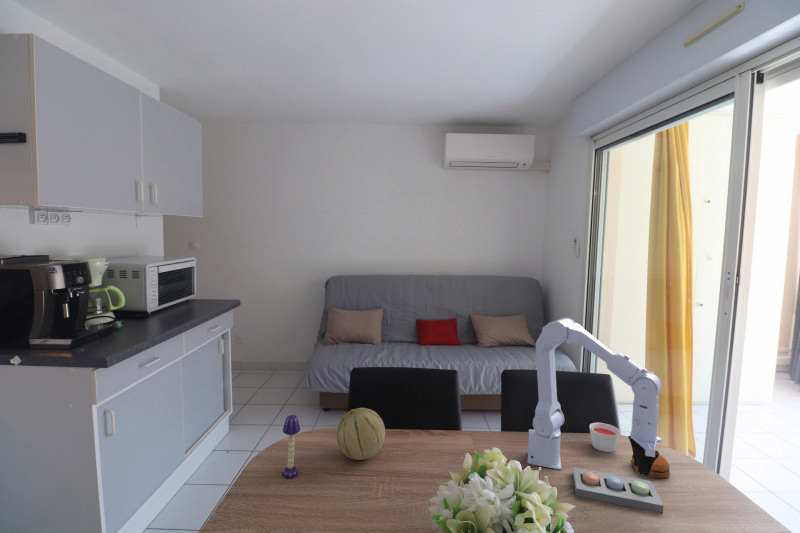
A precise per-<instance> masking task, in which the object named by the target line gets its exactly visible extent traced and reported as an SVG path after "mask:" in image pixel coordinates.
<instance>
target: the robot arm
mask: <svg viewBox="0 0 800 533" xmlns="http://www.w3.org/2000/svg"><path fill="white" fill-rule="evenodd" d="M565 341H566V344H569V345H570V344H571V345H580V346H581V347H583V348H585V349H586V350H588V351H589V352H590V353H592V354H593V355H594V356H596V357H597V358H599V359H600V360H602V361H603V362H605V365H606V369H607V370H608V371H610V372H611V373H612V374H613V375H614V376H616V377H617V378H618V379H620V380H621V381H622V382H623V383H625V384H627V386H629V387H631V390H632V393H633V400H632V415H631V431H630V434H629V435H628V436H627V437H628V440H629V442H630V445H631V449H632V455H633V457H634V463H635V465H636V466H638V472H639V473H638V472H637V473H638V474H639V475H642V476H644V475H646V476H645V477H648V475H649V473H650V470H651V467H652V465H653V463H654V461H655V460H656V459H657V458H658V457H659V455H660V452H659V451H658V450H656V446H657V443H661V444H662V438H661V437H660V436H657V435H658V425H659V424H658V422H659V421H658V420H659V411H660V410H659V408H660V404H659V401H660V399H659V393H660V391H661V389H662V384H663V383H662V380H661V378H660V377H659V376H658V375H657V374H656V373H655V372H652V371H648V369H647V368H645V367H641V365H638V363H635V362H634V361H633V360H632V359H631V356H630V355H628V354H625V355H624V354H623V353H621V352H619V353H618V352H613V351H612V350H611V349H610V348H608V347H607V346H606V345H605V344H603V343H602V342H601V341H600V340H599V339H597V338H596V337H595V336H593V335H592V334H591V333H590V332H589V331H587V330H586V329H585V328H584V327H583V326H582V324H579V323H577V322H575V321H574V319H572V318H569V317H562V318H560V319H558V320H555V321H554V320H553V321H550V322H548V323H547V324H545V325H544V326H543V327H542V330H541V333H540V335H539V337H538V338H537V340H536V342H535V356H536V357H535V358H536V375H537V376H536V378H537V392H538V393H537V394H538V396H537V397H538V402H537V405H536V408H535V410H534V414H535V415H534V417H533V419H532V427H533V429H532V428H531V429H528V445H527V447H526V454H527V464H529V465H533V466H539V467H545V468H550V469H555V470H562V462H561V455H560V453H561V439H562V438H561V437H562V436H561V434H562V432H561V427H562V426H563V425H564V424H565V416H564V413H563V411H562V409H561V407H562V406H561V404H560V402H559V401H558V395H557V394H558V389H557V373H556V370H557V369H556V354H555V350H556V348H558V347H559V346H561V344H563V342H565Z"/></svg>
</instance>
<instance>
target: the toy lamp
mask: <svg viewBox="0 0 800 533" xmlns="http://www.w3.org/2000/svg"><path fill="white" fill-rule="evenodd" d="M283 424H284V425H283V428H282V433H283V434H285V435H288V439H287V440H288V443H287V444H288V449H287V452H288V453H287V464H286V465H287V467H286V468H284V470H283V471H282V477H283V478H285V479H294V478H296V477H297V476H298V475H299V469H298V468H297V467H296V466H294V461H295V443H296V442H295V439H296V438H295V437H296V436H295V435H296V434H298V433H299V432H300V431H301V427H300V426H301V425H300V422H299V418H298V416H297V415H296V414H295V415H294V414H289V415H288V416H286V418H285V422H284V423H283Z"/></svg>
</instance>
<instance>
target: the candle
mask: <svg viewBox="0 0 800 533" xmlns="http://www.w3.org/2000/svg"><path fill="white" fill-rule="evenodd" d="M589 433H590V434H589V435H590V440H591V445H592V447H593V448H594V449H595V450H598V451H600V452H603V453H614V452H615V451H616V449H617V446H618V442H619V440H620V439H619V438H620V435H621V431H620V429H619V428H617V427H616V426H614V425H612V424H608V423H603V422H593V423H590V424H589Z"/></svg>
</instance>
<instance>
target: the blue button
mask: <svg viewBox="0 0 800 533" xmlns="http://www.w3.org/2000/svg"><path fill="white" fill-rule="evenodd" d="M623 483H624V482H623V481H622V480H621V479H619V478H617V477H614V476H609V477H607V483H606V488H609V489H614V490H620V491H623Z"/></svg>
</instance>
